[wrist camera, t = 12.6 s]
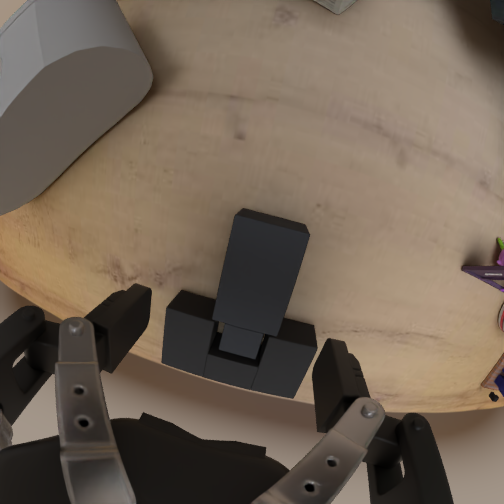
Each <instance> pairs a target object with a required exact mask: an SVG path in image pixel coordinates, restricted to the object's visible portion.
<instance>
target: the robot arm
mask: <svg viewBox="0 0 504 504" xmlns="http://www.w3.org/2000/svg"><path fill="white" fill-rule="evenodd" d="M151 296H152V290H151V288H148V287H145V286H142V285H140V284H137V283H135V284H134V285H132V286H131V287H130V288H129V289H128V290H127V291H125V290H120V291H118V292H115V293H113V294H111V295H110V296H109V297H108V298H107V299H106V300H104V301H103V302H102V303H101V304H99V305H98V306H97V307H96V308H95V309H93V310H92V311H91V312H90V313H89V314H88V315H86V316H85V317H84V318H82V317H71V318H67V319H65V320H64V321H63V322H62V323H61V324H59V323H54V322H50V321H46V320H45V315H44V312H43V310H42V309H40V308H39V307H36V306H25V307H22V308H20V309H18V310H17V311H16V312H14V313H13V314H12V315H11V316H9V317H8V318H7V319H5V320H4V321H3V322H2V323H1V324H0V504H331V502H332V501H333V500H334V499H335V497H336V496H337V495H338V494H339V492H340V491H341V490H342V488H343V487H344V486H345V484H346V483H347V482H348V480H349V479H350V478H351V476H352V475H353V473H354V472H355V471H356V469H357V468H358V466H359V464H360V463H361V462H366V463H367V471H368V481H369V491H370V503H371V504H454V503H453V499H452V495H451V491H450V487H449V483H448V480H447V476H446V473H445V469H444V466H443V463H442V459H441V456H440V453H439V450H438V447H437V444H436V441H435V438H434V435H433V433H432V430H431V427H430V424H429V423H428V421H427V420H426V419H425V418H424V417H423V416H421V415H419V414H417V413H408V414H406V415H405V416H404V417H403V419H402V420H398V419H396V418H392V417H389V416H387V415H385V410H384V408H383V407H382V405H381V404H380V403H379V402H377V401H376V400H374V399H371V398H370V395H369V392H368V388H367V385H366V382H365V379H364V378H363V373H362V371H361V367H360V364H359V361H358V360H357V359H356V358H355V356H354V355H353V354H350V353H348V350H347V346H346V343H345V342H344V341H340V340H336V339H331V338H328V339H327V340H326V342H325V344H324V346H323V348H322V350H321V352H320V354H319V356H318V358H317V360H316V362H315V365H314V367H313V372H312V381H313V391H314V401H315V412H316V424H317V432H322V433H326V435H325V436H324V437H323V438H322V439H321V440H320V441H319V442H318V443H317V444H316V445H315V446H314V447H313V448H312V450H311V451H310V452H309V453H308V454H307V455H306V456H305V457H304V458H303V459H302V460H301V461H300V462H298V463H297V464H296V465H295V466H294V467H293V468H292V469H291V470H289V469H287V468H286V467H285V466H284V465H282V464H281V463H279V462H278V461H276V460H274V459H272V458H270V457H268V456H265V454H266V447H262V446H257V445H252V444H247V443H242V442H237V441H219V440H204V439H200V438H198V437H196V436H194V435H192V434H190V433H189V432H187V431H185V430H183V429H182V428H180V427H178V426H176V425H175V424H173V423H170V422H168V421H165V420H162V419H159V418H157V417H154V416H152V415H149V414H146V413H144V412H143V413H142V415H141V417H140V419H131V418H118V419H111V420H110V419H109V415H108V410H107V407H106V402H105V397H104V392H103V387H102V382H101V376H100V372H101V371H102V370H105V371H107V372H109V373H113V371H114V370H115V369H116V367H117V366H118V365H119V363H120V362H121V361H122V359H123V358H124V357H125V355H126V354H127V353H128V352H129V350H130V349H131V348H132V346H133V345H134V344H135V342H136V341H137V340H138V339H139V337H140V336H141V335H142V334H143V332H144V331H145V330H146V328H147V326H148V323H149V318H150V307H151ZM23 352H24V354H25V356H24V357H23V358H22V359H21V360H20V361H19V362H18V363H17V364H16V365H15V366H14V367H13V363H14V361H15V360H16V359H17V358H18V357H19V356H20V355H21V354H22V353H23ZM52 374H55V393H56V409H57V420H58V430H59V435H56V436H53V437H49V438H44V439H40V440H36V441H31V442H27V443H22V444H17V445H12V442H11V440H12V436H13V431H12V427H11V426H12V425H13V423H14V422H15V421H16V419H17V418H18V417H19V415H20V414H21V413H22V411H23V410H24V409H25V407H26V406H27V405H28V403H29V402H30V401H31V400H32V398H33V397H34V396H35V395H36V393H37V392H38V391H39V390H40V388H41V387H42V386H43V384H44V383H45V382H46V381H47V380H48V378H49V377H50V376H51V375H52ZM402 460H403V465H404V469H405V475H404V478H403V475H402V470H401V465H400V462H401V461H402Z"/></svg>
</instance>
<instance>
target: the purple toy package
mask: <svg viewBox="0 0 504 504" xmlns="http://www.w3.org/2000/svg"><path fill="white" fill-rule="evenodd" d="M498 243H499V245H500V248H501V253H500V255H499V260H498V261H497V263H498V264H499V265H500V266H463V268H462V271H464V272H466V273H468V274H470V275H472V276H474V277H476V278H478V279H480V280H482V281H484V282H486V283H488V284H490V285H491V286H493V287H495V288H497V289H499V290H500V291H502V292H504V287H502V286H500V285H499V284H497V283H495V282H493V281H491V280H504V244H503V241H501V238H498Z"/></svg>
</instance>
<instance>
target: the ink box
mask: <svg viewBox="0 0 504 504" xmlns="http://www.w3.org/2000/svg"><path fill="white" fill-rule="evenodd" d="M314 1H315V2H317V3H319V4H321V5H322V6H324V7H326V8H327V9H329V10H330V11H332V12H334V13H335V14H340V13H342V12H343V11H344V10H346V9H347V8H348V7H350V6H351V5H352V4H353V3H355V2H356V1H357V0H314Z"/></svg>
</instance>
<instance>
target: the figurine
mask: <svg viewBox="0 0 504 504" xmlns="http://www.w3.org/2000/svg"><path fill="white" fill-rule="evenodd" d="M481 385H482V387H484V388H489V389H493V390H498V391H500V392H501V394H502V395H503V397H504V354H503V355H502V357H501V358H500V359H499V361H498V362H497V364H496V365H495V367H494V368H493V369H492V371H491V372H490V373H489V375H488V376H487V377H486V379H485V380H484V381H483V382H482V384H481ZM489 397H490V398H491V400H492V401H494V402H496V401H497V400H498V399H499V397H498V396H497V395H495V394H494V392H491V393H490V394H489Z"/></svg>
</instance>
